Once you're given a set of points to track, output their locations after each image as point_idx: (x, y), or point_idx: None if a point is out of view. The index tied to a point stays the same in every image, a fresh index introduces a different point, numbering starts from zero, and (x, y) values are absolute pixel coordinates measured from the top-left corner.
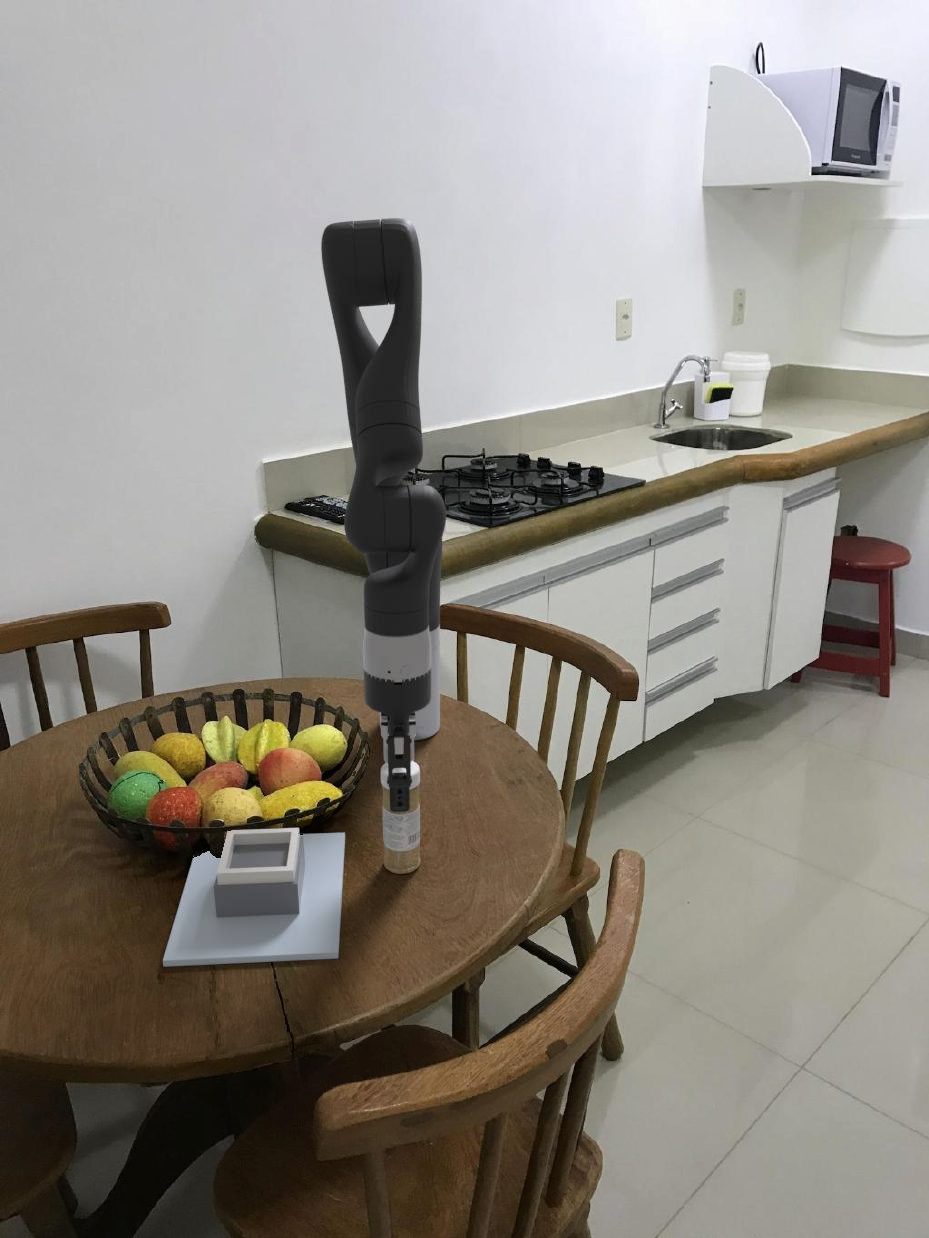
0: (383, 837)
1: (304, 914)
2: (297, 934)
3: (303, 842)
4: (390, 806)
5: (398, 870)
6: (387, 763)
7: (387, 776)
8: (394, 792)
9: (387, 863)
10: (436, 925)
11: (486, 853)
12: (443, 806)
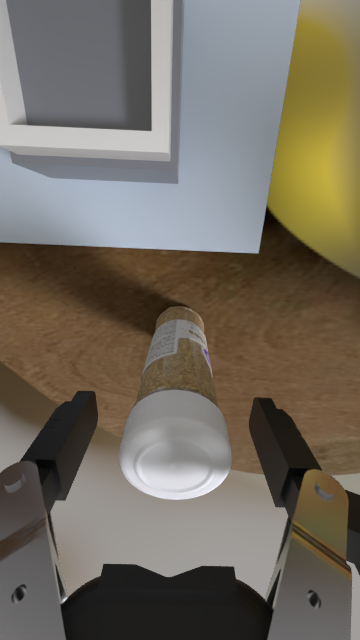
0: (175, 323)
1: (51, 187)
2: (3, 176)
3: (171, 172)
4: (74, 397)
5: (156, 324)
6: (39, 523)
7: (7, 486)
8: (31, 448)
9: (166, 313)
10: (63, 354)
11: None
12: (296, 382)
